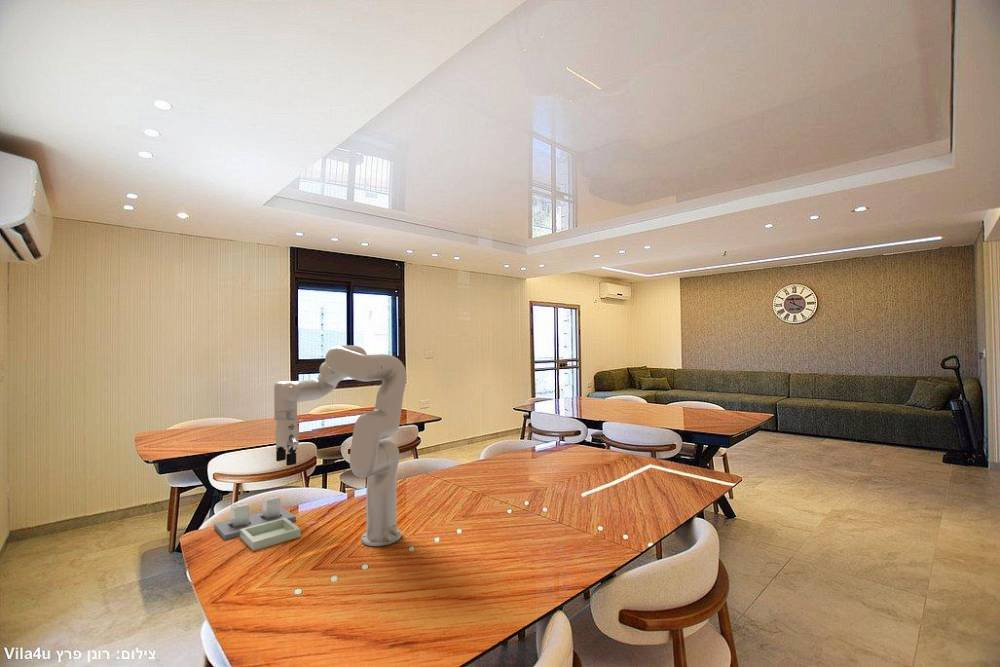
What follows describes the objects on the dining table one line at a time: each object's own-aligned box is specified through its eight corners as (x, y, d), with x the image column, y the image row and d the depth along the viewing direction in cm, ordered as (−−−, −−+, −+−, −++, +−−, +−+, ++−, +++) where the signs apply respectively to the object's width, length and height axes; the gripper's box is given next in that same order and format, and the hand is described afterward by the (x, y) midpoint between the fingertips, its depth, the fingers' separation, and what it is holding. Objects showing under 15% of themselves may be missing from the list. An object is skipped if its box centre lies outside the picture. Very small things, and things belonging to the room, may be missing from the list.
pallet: (295, 523, 156) (295, 516, 156) (224, 543, 140) (224, 535, 140) (281, 513, 166) (281, 506, 166) (213, 530, 150) (214, 523, 150)
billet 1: (248, 531, 149) (249, 504, 150) (234, 535, 146) (234, 508, 147) (244, 527, 152) (245, 501, 153) (230, 531, 149) (230, 504, 150)
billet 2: (279, 523, 156) (280, 497, 157) (266, 526, 153) (266, 500, 154) (275, 519, 159) (275, 494, 160) (262, 523, 156) (262, 497, 157)
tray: (300, 539, 142) (300, 528, 142) (252, 554, 132) (253, 542, 132) (285, 527, 152) (285, 517, 152) (239, 540, 142) (239, 529, 142)
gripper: (306, 415, 156) (306, 464, 156) (287, 412, 168) (287, 457, 167) (284, 418, 151) (284, 468, 150) (266, 414, 163) (266, 461, 162)
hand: (286, 462), depth 159 cm, fingers open, 9 cm apart
